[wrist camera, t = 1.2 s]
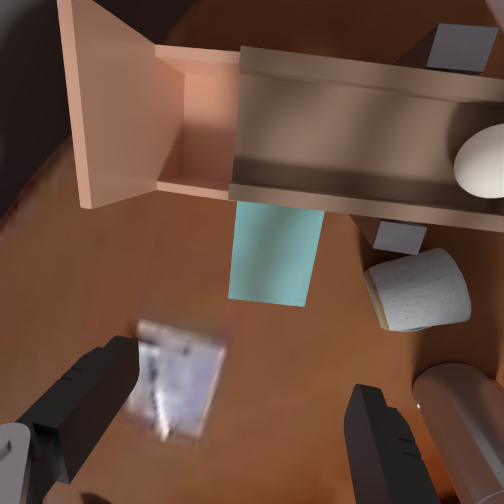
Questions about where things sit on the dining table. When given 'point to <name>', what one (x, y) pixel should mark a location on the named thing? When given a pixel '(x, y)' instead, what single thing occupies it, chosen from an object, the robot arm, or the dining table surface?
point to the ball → (482, 163)
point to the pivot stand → (437, 59)
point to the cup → (145, 110)
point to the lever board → (345, 158)
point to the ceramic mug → (418, 291)
